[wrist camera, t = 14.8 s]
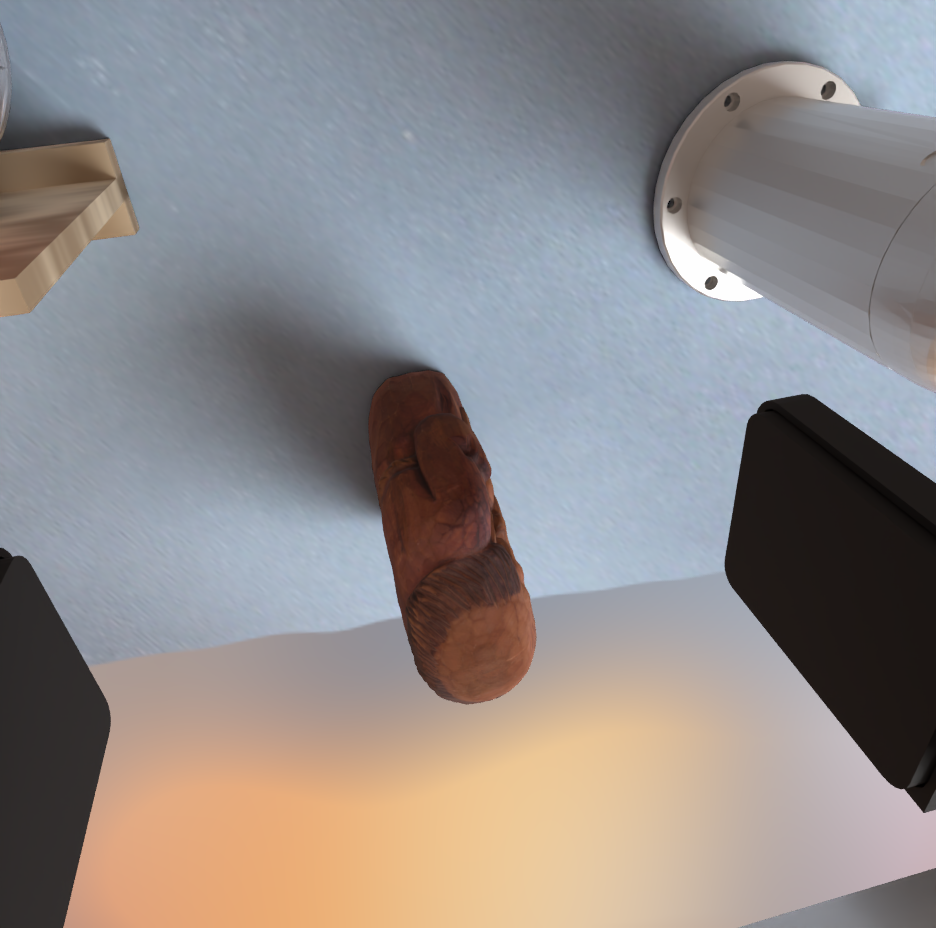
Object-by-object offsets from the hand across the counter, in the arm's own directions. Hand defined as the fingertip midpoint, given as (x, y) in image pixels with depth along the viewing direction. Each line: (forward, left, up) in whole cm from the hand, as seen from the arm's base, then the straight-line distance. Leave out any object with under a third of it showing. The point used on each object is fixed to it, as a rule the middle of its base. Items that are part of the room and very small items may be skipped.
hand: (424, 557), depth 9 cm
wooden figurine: (-3, +17, -31) cm, 35 cm away
